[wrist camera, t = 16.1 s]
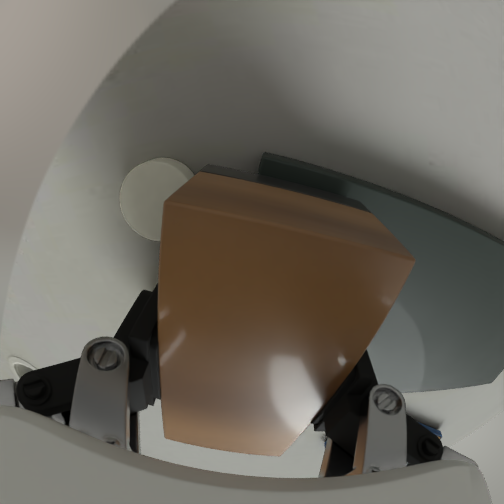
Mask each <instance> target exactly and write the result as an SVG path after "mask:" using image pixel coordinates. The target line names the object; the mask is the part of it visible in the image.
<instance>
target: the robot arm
mask: <svg viewBox="0 0 504 504" xmlns="http://www.w3.org/2000/svg"><path fill="white" fill-rule="evenodd" d="M156 398H157V399H161V391H160V372H159V342H158V283H157V285H156V287H155V289H154V290H153V292H151V291H147V290H142V292H141V293H140V294H139V296H138V298H137V299H136V301H135V302H134V304H133V306H132V307H131V309H130V311H129V312H128V314H127V316H126V317H125V319H124V321H123V322H122V324H121V326H120V327H119V329H118V331H117V333H116V334H115V336H114V338H112V337H99V338H95V339H93V340H91V341H90V342H88V343H87V344H86V346H85V347H84V349H83V351H82V355H81V358H78V359H74V360H71V361H67V362H64V363H60V364H56V365H53V366H49V367H45V368H41V369H38V370H34V371H30V372H28V373H26V374H24V375H23V376H22V377H21V378H20V380H19V381H18V382H15V381H14V379H7V380H0V504H492V501H491V497H490V493H489V489H488V486H487V483H486V481H485V478H484V476H483V474H482V472H481V471H480V469H479V468H478V465H477V464H476V462H474V461H473V460H472V459H470V458H468V457H466V456H464V455H462V454H460V453H458V452H456V451H454V450H452V449H450V448H449V447H447V446H444V447H443V446H442V443H441V441H440V439H439V438H438V437H437V436H436V435H435V434H434V433H432V432H431V431H429V430H428V429H427V428H425V427H424V426H422V425H421V424H420V423H418V422H417V421H415V420H414V419H413V418H411V417H410V416H408V415H407V414H406V404H405V399H404V397H403V396H402V394H401V393H400V392H399V391H398V390H397V389H396V388H395V387H393V386H391V385H388V384H378V382H377V379H376V375H375V372H374V369H373V366H372V363H371V360H370V357H369V354H368V351H367V349H366V350H365V352H364V354H363V355H362V357H361V358H360V359H359V361H358V362H357V364H356V365H355V367H354V368H353V370H352V371H351V372H350V374H348V376H347V377H346V379H345V380H344V381H343V383H342V384H341V385H340V387H339V388H338V389H337V391H336V392H335V393H334V395H333V396H332V397H331V398H330V400H329V401H328V402H327V403H326V405H325V406H324V407H323V408H322V410H321V411H320V412H319V413H318V414H317V416H316V417H315V418H314V419H313V420H312V422H311V423H312V424H314V431H325V433H326V436H327V437H328V438H327V443H326V447H325V452H324V456H323V460H322V465H321V469H320V473H319V477H318V478H270V477H255V476H244V475H235V474H227V473H220V472H214V471H208V470H202V469H197V468H192V467H187V466H182V465H178V464H174V463H170V462H166V461H162V460H158V459H155V458H151V457H148V456H145V455H141V449H140V419H139V411H141V410H144V409H146V408H147V407H148V404H149V405H152V406H154V402H155V399H156Z"/></svg>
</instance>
